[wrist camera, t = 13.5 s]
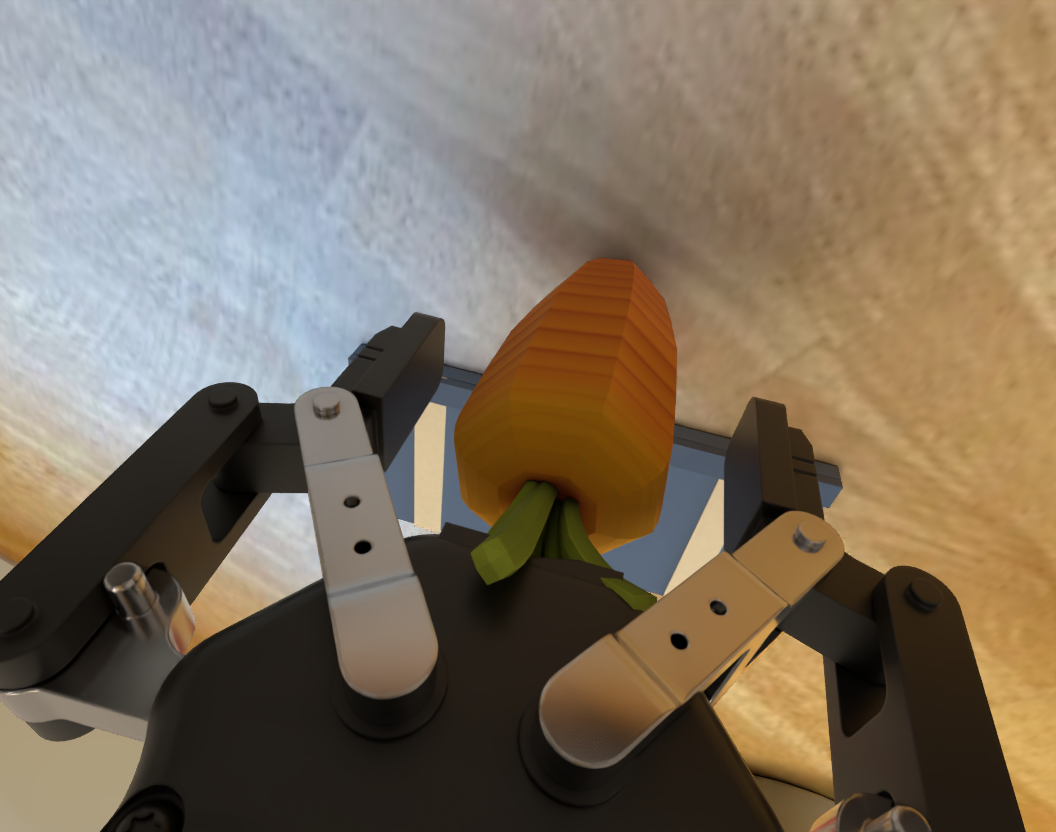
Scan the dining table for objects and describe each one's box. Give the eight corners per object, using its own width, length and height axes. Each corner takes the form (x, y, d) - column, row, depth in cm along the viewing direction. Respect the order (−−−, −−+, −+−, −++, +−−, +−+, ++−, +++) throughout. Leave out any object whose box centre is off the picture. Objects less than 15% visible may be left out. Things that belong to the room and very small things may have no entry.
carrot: (586, 169, 19) (380, 526, 8) (725, 239, 19) (723, 683, 8) (530, 295, 22) (328, 675, 11) (650, 354, 23) (573, 783, 11)
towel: (360, 343, 26) (347, 358, 25) (838, 466, 24) (843, 487, 23) (371, 498, 32) (361, 515, 31) (747, 606, 30) (747, 628, 29)
